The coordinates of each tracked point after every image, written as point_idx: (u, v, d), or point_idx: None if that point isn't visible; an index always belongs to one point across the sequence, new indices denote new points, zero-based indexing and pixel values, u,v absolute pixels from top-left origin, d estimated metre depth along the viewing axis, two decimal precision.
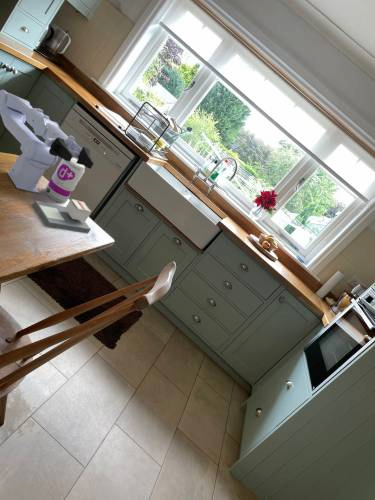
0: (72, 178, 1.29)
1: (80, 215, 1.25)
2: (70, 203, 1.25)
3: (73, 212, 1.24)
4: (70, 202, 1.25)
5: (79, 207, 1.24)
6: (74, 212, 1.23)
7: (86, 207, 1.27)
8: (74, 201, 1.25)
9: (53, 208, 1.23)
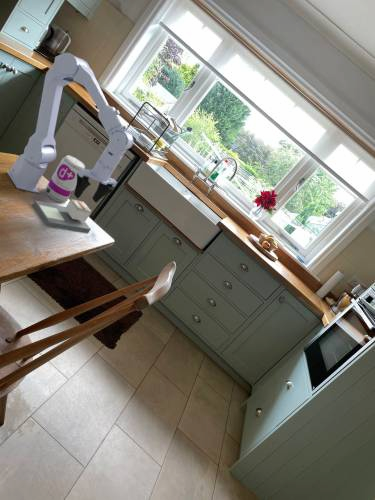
0: (72, 178, 1.29)
1: (80, 215, 1.25)
2: (70, 203, 1.25)
3: (73, 212, 1.24)
4: (70, 202, 1.25)
5: (79, 207, 1.24)
6: (74, 212, 1.23)
7: (86, 207, 1.27)
8: (74, 201, 1.25)
9: (53, 208, 1.23)
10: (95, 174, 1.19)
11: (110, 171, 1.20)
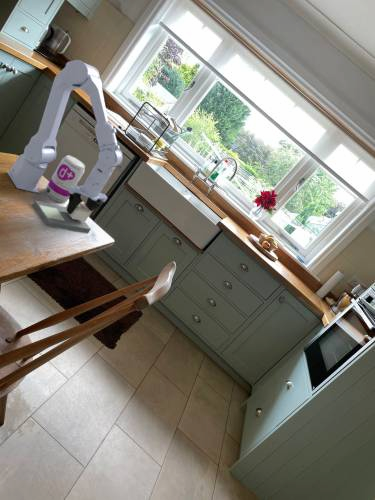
0: (72, 178, 1.29)
1: (80, 215, 1.25)
2: None
3: (73, 212, 1.24)
4: None
5: (79, 207, 1.24)
6: (74, 212, 1.23)
7: (86, 207, 1.27)
8: None
9: (53, 208, 1.23)
10: (85, 190, 1.21)
11: (100, 187, 1.22)
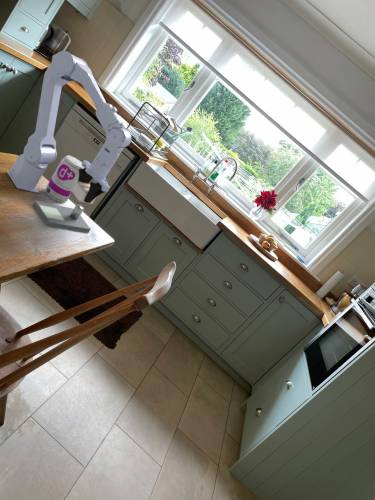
0: (72, 178, 1.29)
1: (77, 190, 1.21)
2: None
3: None
4: None
5: (81, 183, 1.22)
6: None
7: None
8: (88, 185, 1.25)
9: (53, 208, 1.23)
10: None
11: (96, 161, 1.17)
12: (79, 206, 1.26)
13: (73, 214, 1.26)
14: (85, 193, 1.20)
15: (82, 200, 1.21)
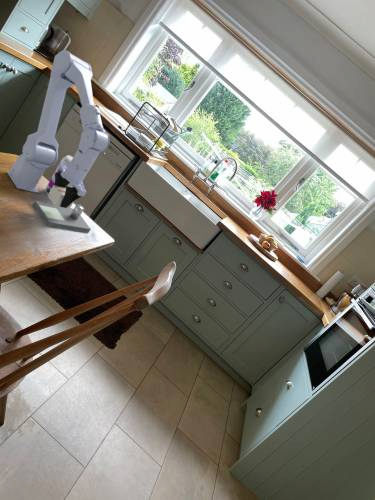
0: None
1: (53, 195, 1.17)
2: None
3: None
4: None
5: (57, 187, 1.17)
6: None
7: None
8: (65, 189, 1.20)
9: (53, 208, 1.23)
10: None
11: (72, 165, 1.12)
12: (79, 206, 1.26)
13: (73, 214, 1.26)
14: (61, 198, 1.15)
15: (58, 205, 1.16)
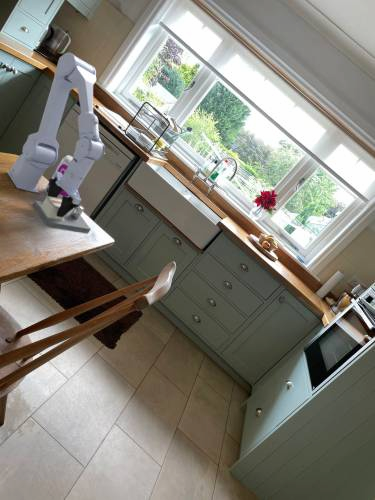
0: None
1: (46, 205, 1.18)
2: None
3: None
4: None
5: (51, 198, 1.19)
6: None
7: (58, 205, 1.18)
8: (59, 199, 1.21)
9: None
10: None
11: (67, 173, 1.13)
12: (79, 206, 1.26)
13: (73, 214, 1.26)
14: (54, 208, 1.16)
15: (52, 216, 1.18)
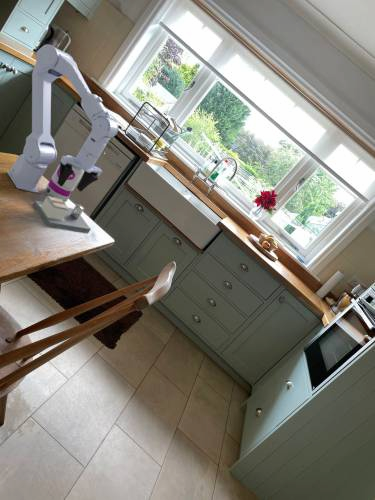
0: (72, 178, 1.29)
1: (46, 205, 1.18)
2: None
3: None
4: None
5: (51, 198, 1.19)
6: None
7: (58, 205, 1.18)
8: (59, 199, 1.21)
9: None
10: (79, 162, 1.17)
11: (94, 159, 1.18)
12: (79, 206, 1.26)
13: (73, 214, 1.26)
14: (54, 208, 1.16)
15: (52, 216, 1.18)
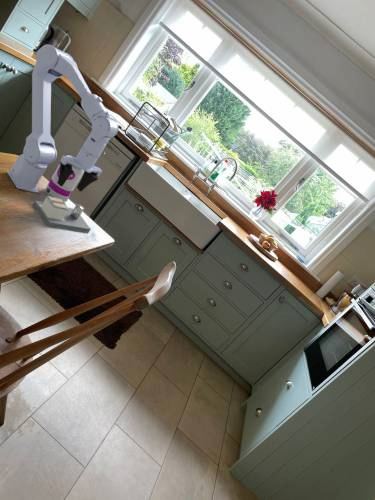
0: (72, 178, 1.29)
1: (46, 205, 1.18)
2: None
3: None
4: None
5: (51, 198, 1.19)
6: None
7: (58, 205, 1.18)
8: (59, 199, 1.21)
9: None
10: (79, 162, 1.17)
11: (94, 159, 1.18)
12: (79, 206, 1.26)
13: (73, 214, 1.26)
14: (54, 208, 1.16)
15: (52, 216, 1.18)
